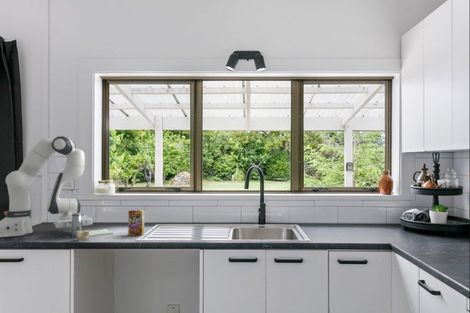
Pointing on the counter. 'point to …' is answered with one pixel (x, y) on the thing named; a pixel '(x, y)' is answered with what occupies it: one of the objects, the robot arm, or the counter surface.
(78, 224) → the tin
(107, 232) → the pad
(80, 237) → the maple cube
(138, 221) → the candy box
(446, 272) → the counter surface
